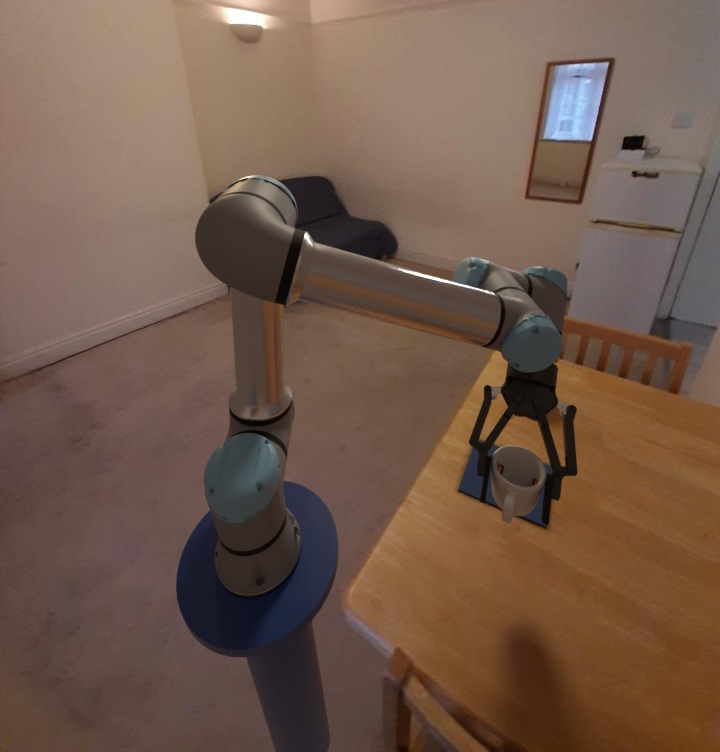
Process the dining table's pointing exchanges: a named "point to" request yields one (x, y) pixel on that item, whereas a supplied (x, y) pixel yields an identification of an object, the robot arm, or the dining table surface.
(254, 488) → the robot arm
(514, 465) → the cup
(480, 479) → the napkin
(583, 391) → the dining table surface
